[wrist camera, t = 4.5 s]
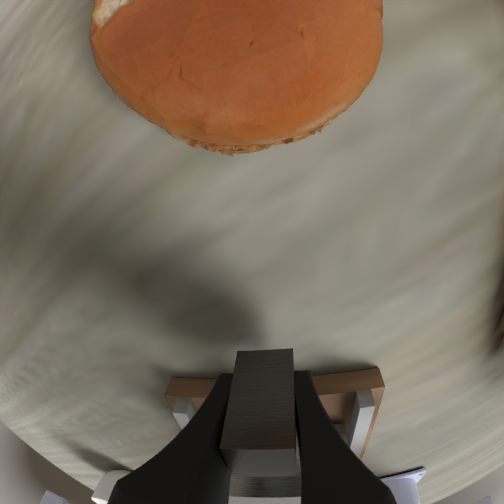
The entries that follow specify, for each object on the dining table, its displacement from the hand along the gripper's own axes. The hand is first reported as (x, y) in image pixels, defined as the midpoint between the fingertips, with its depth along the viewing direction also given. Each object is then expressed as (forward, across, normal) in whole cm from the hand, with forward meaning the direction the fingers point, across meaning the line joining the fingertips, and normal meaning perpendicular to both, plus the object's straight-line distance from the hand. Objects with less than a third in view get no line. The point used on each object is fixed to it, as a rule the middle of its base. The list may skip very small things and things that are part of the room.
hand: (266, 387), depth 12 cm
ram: (+1, 0, +3) cm, 4 cm away
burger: (+3, 0, -14) cm, 15 cm away
